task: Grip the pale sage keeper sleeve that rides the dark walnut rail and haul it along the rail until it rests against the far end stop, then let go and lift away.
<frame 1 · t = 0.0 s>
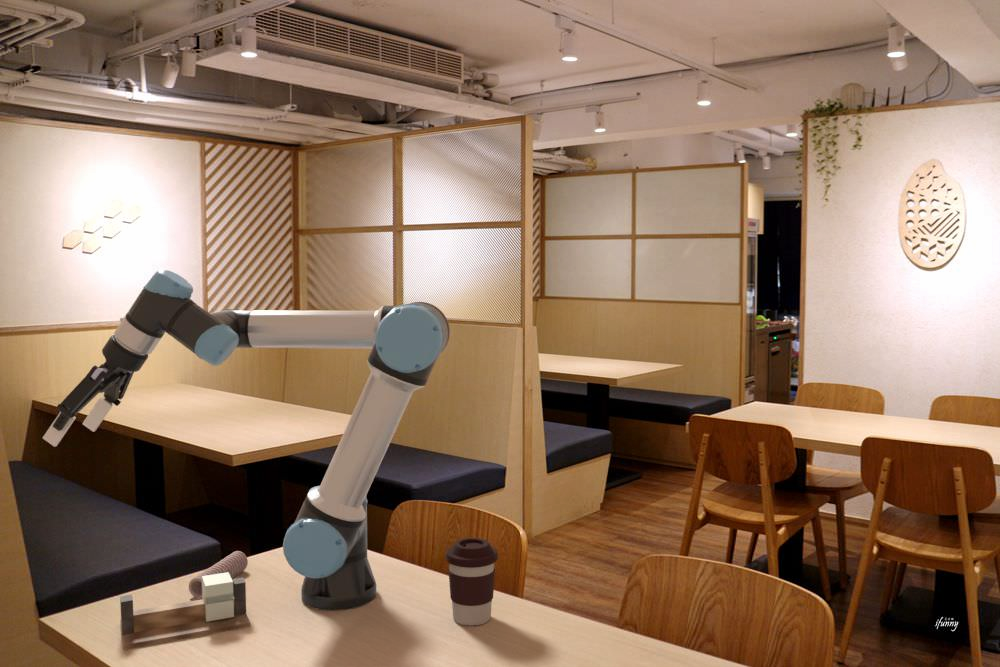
hand: (69, 434, 163), 36 cm above the table, tool tilted 35°, fingers open, 13 cm apart
coffee cup: (471, 619, 166), on the table
keeper: (217, 596, 165), point 5 cm above the table, slide at 0.0 cm
track: (185, 625, 163), on the table
coil: (219, 585, 184), on the table
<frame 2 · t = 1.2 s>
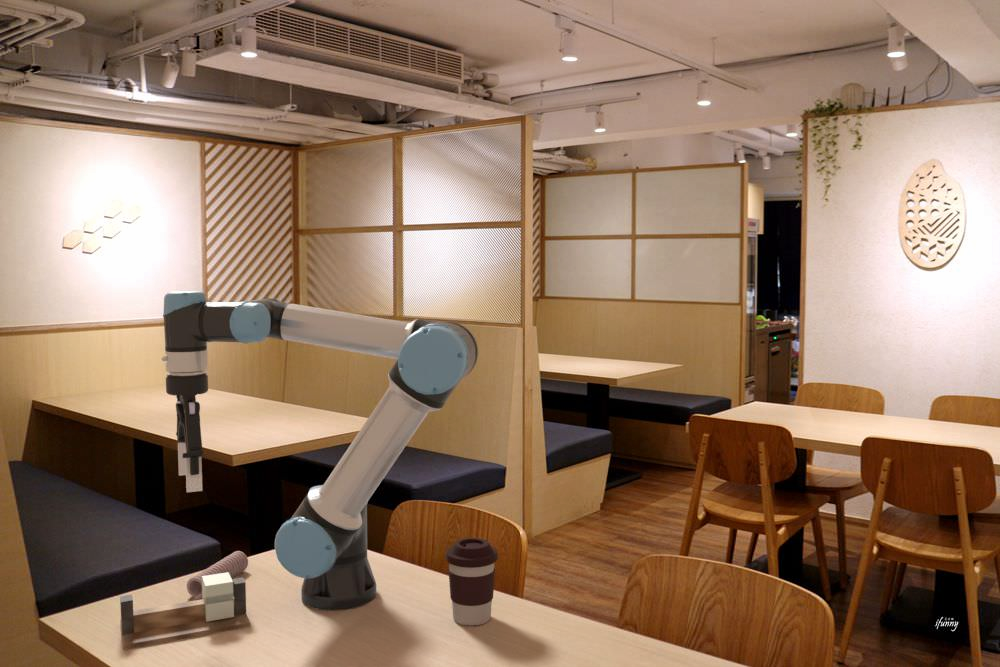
hand: (190, 482, 165), 26 cm above the table, tool pointing down, fingers open, 13 cm apart
nothing on the table moved.
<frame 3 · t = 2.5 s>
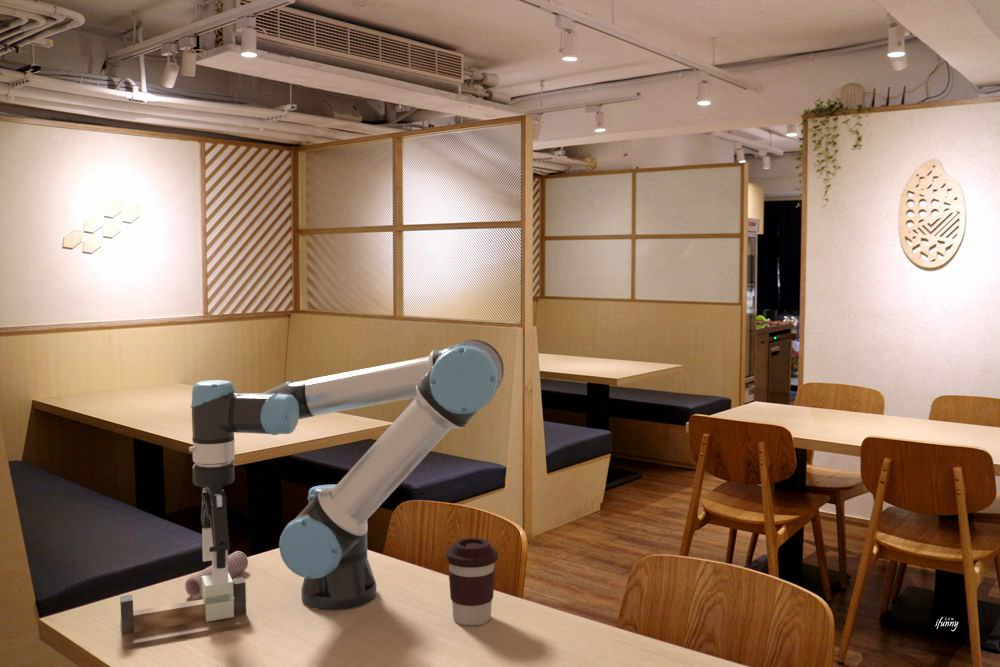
hand: (215, 571, 165), 9 cm above the table, tool pointing down, fingers open, 13 cm apart
nothing on the table moved.
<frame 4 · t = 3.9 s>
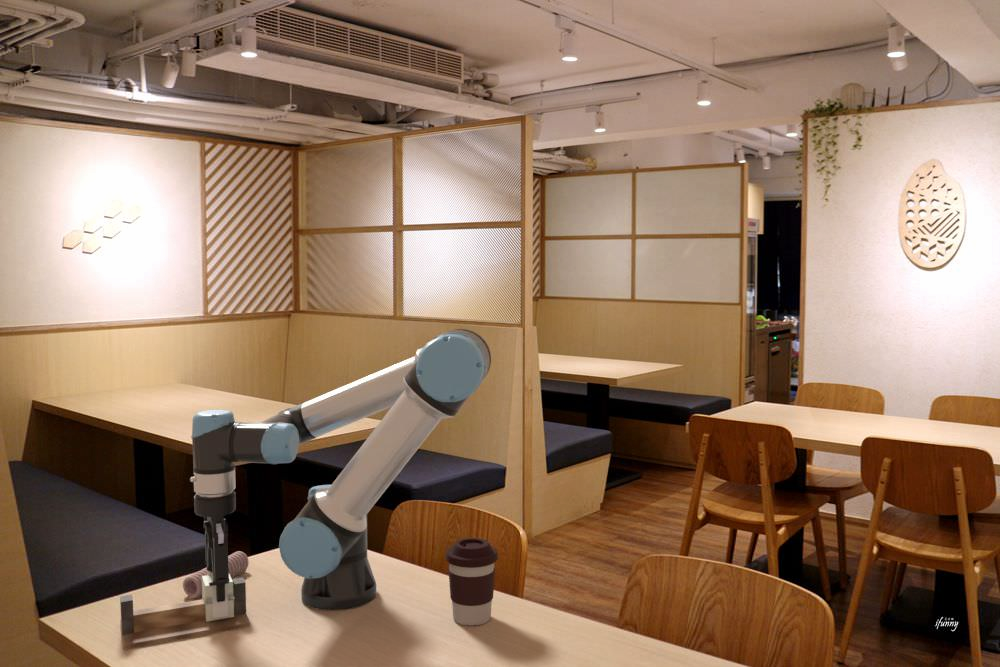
hand: (218, 610, 166), 2 cm above the table, tool pointing down, fingers closed on keeper, 6 cm apart
keeper: (217, 596, 165), point 5 cm above the table, slide at 0.0 cm, touching gripper
everything else where it was.
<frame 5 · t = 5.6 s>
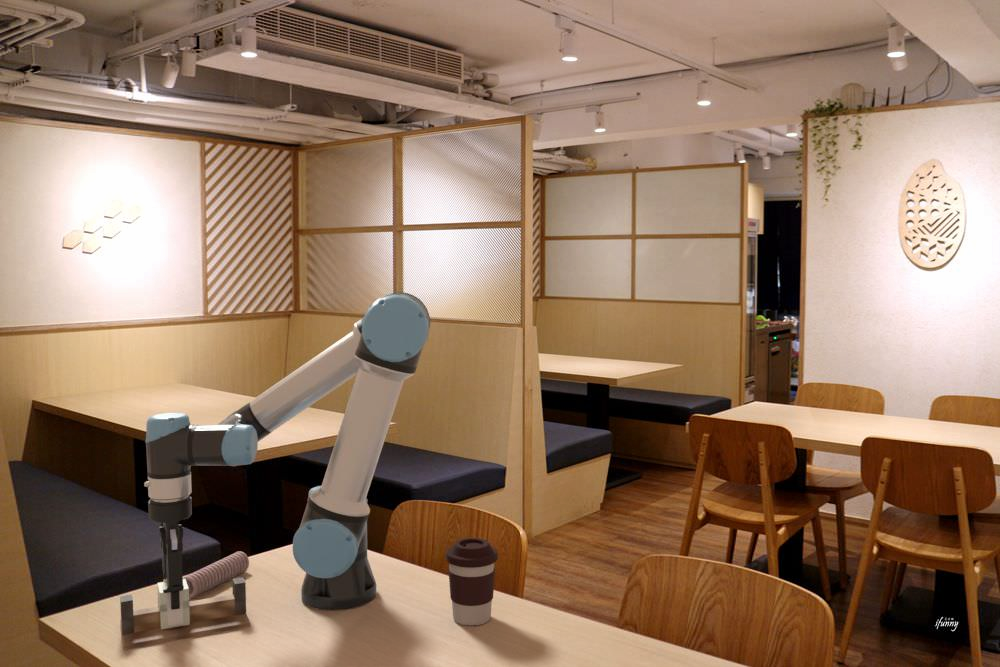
hand: (173, 617, 162), 2 cm above the table, tool pointing down, fingers closed on keeper, 6 cm apart
keeper: (173, 603, 162), point 5 cm above the table, slide at 8.0 cm, touching gripper
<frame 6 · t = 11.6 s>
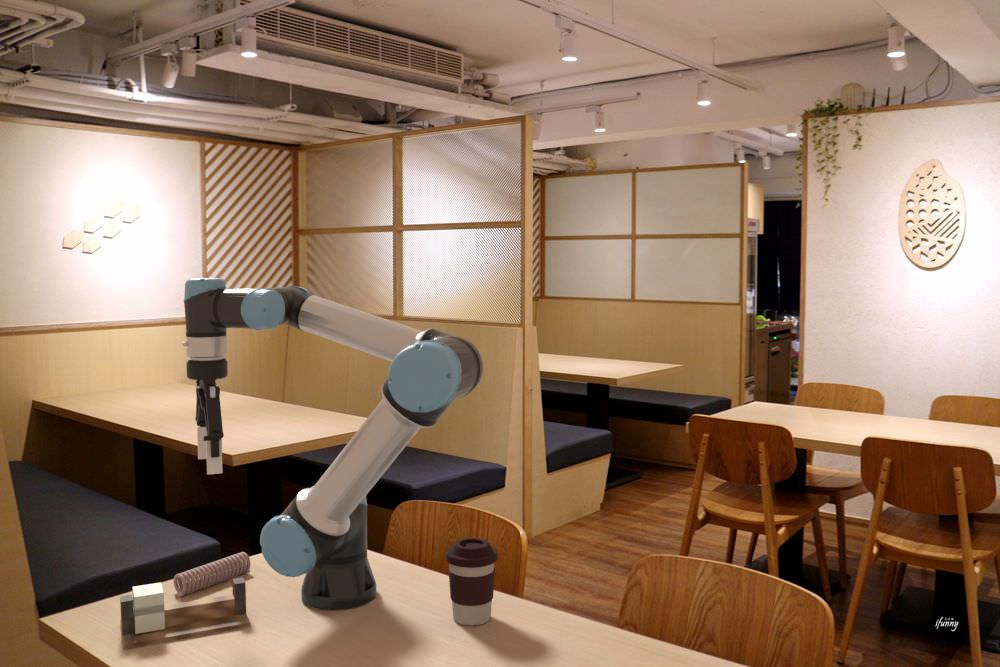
hand: (209, 465, 169), 29 cm above the table, tool pointing down, fingers open, 13 cm apart
keeper: (148, 607, 160), point 5 cm above the table, slide at 12.3 cm
at the end: keeper slide at 12.3 cm; the gripper is holding nothing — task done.
